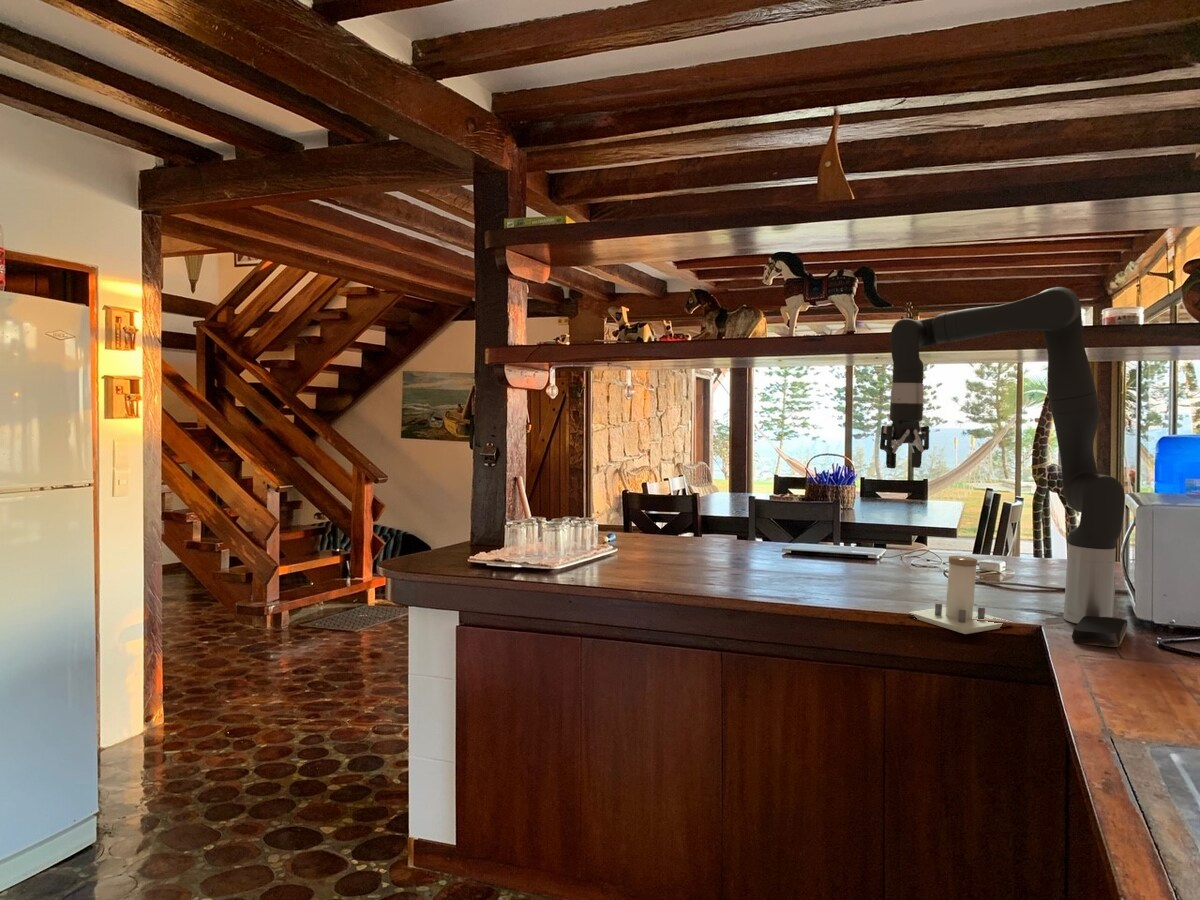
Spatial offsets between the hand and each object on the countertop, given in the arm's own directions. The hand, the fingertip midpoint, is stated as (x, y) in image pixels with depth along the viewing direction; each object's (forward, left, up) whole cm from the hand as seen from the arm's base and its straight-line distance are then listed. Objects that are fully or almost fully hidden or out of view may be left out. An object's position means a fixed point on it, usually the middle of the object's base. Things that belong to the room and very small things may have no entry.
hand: (903, 467), depth 203 cm
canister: (+5, +22, -31) cm, 38 cm away
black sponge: (-12, +43, -33) cm, 55 cm away
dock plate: (+5, +22, -32) cm, 39 cm away
